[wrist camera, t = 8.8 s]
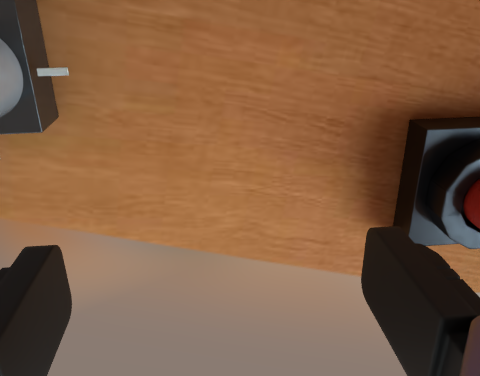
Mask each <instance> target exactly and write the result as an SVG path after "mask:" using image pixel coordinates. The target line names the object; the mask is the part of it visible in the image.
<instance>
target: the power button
mask: <svg viewBox="0 0 480 376" xmlns="http://www.w3.org/2000/svg"><path fill="white" fill-rule="evenodd" d="M463 209H464V213H465V215H466V217H467V219H468V220H469V221H470V222H472V223H473V224H474V225H475V226H476V227H478V228H479V229H480V179H478V180H477V181H476V182H475V183H474V184H473V185H472V186H471V187H470V189H469V190H468V192H467V194H466V196H465V199H464V203H463Z"/></svg>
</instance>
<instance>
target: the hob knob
mask: <svg viewBox="0 0 480 376" xmlns="http://www.w3.org/2000/svg"><path fill="white" fill-rule="evenodd" d="M22 90H23V75H22V70H21V67H20V64H19V62H18V60H17V58H16V56H15V55H14V53H13V52H12V50H11V49H10V48H9V47H8V46H7V44H6V43H4V42H3V41H2V40H1V39H0V118H1V117H2V116H4V115H5V114H7V113H8V112H10V111H11V110H12V109H13V108H14V107H15V106H16V104H17V103H18V101H19V99H20V97H21V94H22Z"/></svg>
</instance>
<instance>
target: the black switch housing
mask: <svg viewBox="0 0 480 376" xmlns="http://www.w3.org/2000/svg"><path fill="white" fill-rule="evenodd" d="M478 179H480V117H464V118H440V119H417V120H410V122H409V128H408V135H407V141H406V147H405V154H404V160H403V166H402V173H401V179H400V185H399V192H398V198H397V204H396V211H395V217H394V223H393V226H399V227H401V228H402V229H403V231H404V232H405V233H406V234H407V235H408V236H409V237H410V238H411V240H412V241H413V242H414V243H415V244H419V243H421V244H422V245H424V246H432V245H446V244H461V245H463V246H465V247H467V248H469V249H479V248H480V229H479V228H478V227H476V226H475V225H474V224H473V223H472V222H470V221H469V220H468V219H467V217H466V215H465V213H464V209H463V203H464V199H465V196H466V194H467V192H468V190H469V189H470V187H471V186H472V185H473V184H474V183H475V182H476V181H477V180H478Z"/></svg>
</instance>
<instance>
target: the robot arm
mask: <svg viewBox="0 0 480 376" xmlns="http://www.w3.org/2000/svg"><path fill="white" fill-rule="evenodd" d="M361 283H362V290H363V294H364V297H365V300H366V302H367V304H368V305H369V307H370V309H371V311H372V313H373V314H374V316H375V318H376V320H377V322H378V323H379V325H380V327H381V329H382V331H383V332H384V334H385V336H386V338H387V340H388V341H389V343H390V345H391V347H392V349H393V350H394V352H395V354H396V356H397V358H398V360H399V361H400V363H401V365H402V367H403V369H404V370H405V372H406V374H407V376H480V297H479V296H478V295H477V294H476V293H475V292H474V291H473V290H472V289H471V288H470V287H469V286H468V285H467V284H466V283H465V282H464V280H463V279H460V276H459V275H458V274H457V273H456V272H455V271H454V270H453V269H450V266H449V265H448V263H447V262H446V261H445V260H444V259H443V258H442V257H441V256H440V255H439V254H438V253H436V252H435V251H433V250H431V249H429V248H428V247H426V246H424V245H422V244H421V243H419V244H415V243H414V242H413V241H412V240H411V238H410V237H409V236H408V235H407V234H406V233H405V232H404V231H403V229H402V228H401V227H399V226H393V227H375V228H370V229H369V230H368V232H367V236H366V243H365V252H364V260H363V268H362V277H361ZM71 308H72V300H71V292H70V288H69V283H68V279H67V274H66V269H65V265H64V260H63V256H62V252H61V249H60V247H59V246H58V245H48V246H32V247H25V248H24V249H23V250H22V251H21V253H20V254H19V256H18V257H17V259H16V260H15V261H14V263H13V264H12V266H11V267H9V268H2V269H1V270H0V376H47V374H48V372H49V369H50V367H51V364H52V362H53V359H54V357H55V354H56V351H57V349H58V347H59V344H60V341H61V339H62V337H63V334H64V332H65V329H66V327H67V324H68V322H69V319H70V315H71Z"/></svg>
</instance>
